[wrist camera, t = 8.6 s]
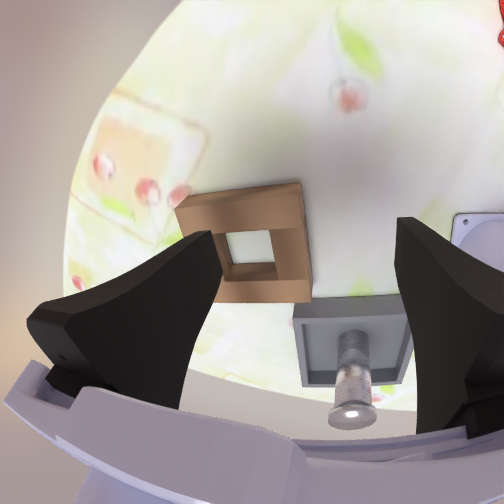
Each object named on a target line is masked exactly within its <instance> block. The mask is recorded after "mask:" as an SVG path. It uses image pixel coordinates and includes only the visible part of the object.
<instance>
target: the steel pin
mask: <svg viewBox="0 0 504 504" xmlns="http://www.w3.org/2000/svg"><path fill="white" fill-rule="evenodd" d="M375 421H376V408H375V407H374V406H373V405H372V396H371V366H370V349H369V337H368V335H367V334H366V333H365V332H363V331H361V330H349V331H346V332H344V333H342V334H341V335H340V336H339V337H338V341H337V370H336V389H335V403H334V408H332V409H331V410H330V412H329V419H328V423H329V424H330V425H331V426H332V427H334V428H337V429H343V430H354V429H361V428H365V427H367V426H370V425H372V424H373V423H374V422H375Z"/></svg>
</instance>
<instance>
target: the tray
mask: <svg viewBox="0 0 504 504" xmlns="http://www.w3.org/2000/svg"><path fill="white" fill-rule="evenodd" d="M292 319H293V326H294V332H295V339H296V346H297V353H298V360H299V367H300V374H301V381H302V387H336V370H337V341H338V337H339V336H340V335H341V334H342V333H344V332H346V331H349V330H361V331H363V332H365V333H366V334H367V335H368V337H369V349H370V366H371V386H379V385H393V384H401V383H402V380H403V378H404V375H405V372H406V369H407V366H408V363H409V360H410V357H411V354H412V351H413V348H414V344H413V339H412V334H411V330H410V326H409V322H408V318H407V315H406V311H405V308H404V304H403V301H402V298H401V294H396V295H380V296H361V297H339V298H311V302H304V303H295V306H294V312H293V318H292Z"/></svg>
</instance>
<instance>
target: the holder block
mask: <svg viewBox="0 0 504 504" xmlns="http://www.w3.org/2000/svg"><path fill="white" fill-rule="evenodd" d="M174 211H175V214H176V217H177V220H178V223H179V226H180V229H181V232H182V235H183V237H184V238H185V237H186V236H188V235H190V234H192V233H194V232H197V231H205V230H211V233H212V236H213V239H214V243H215V246H216V249H217V253H218V256H219V259H220V262H221V266H222V269H223V275H222V279H221V282H220V286H219V289H218V292H217V295H216V297H215V299H214V301H213V303H304V302H311V297H312V286H313V280H312V270H311V260H310V251H309V242H308V234H307V226H306V218H305V210H304V202H303V195H302V188H301V183H290V184H280V185H270V186H261V187H252V188H243V189H235V190H228V191H220V192H213V193H206V194H199V195H192V196H187V197H186V198H185V199H184V200H183V201H182V202H181V203H180V204H179V205H178V206H177V207H176V208H175V209H174ZM256 230H269V232H270V237H271V243H272V248H273V253H274V258H275V262H270V263H246V264H233V262H232V258H231V254H230V251H229V247H228V244H227V240H226V236H225V233H230V232H243V231H256Z"/></svg>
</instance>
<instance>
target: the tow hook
mask: <svg viewBox="0 0 504 504" xmlns="http://www.w3.org/2000/svg"><path fill="white" fill-rule="evenodd" d="M500 5H501V11H502V15H503V18H504V0H500ZM499 41H500V42H501V43H502V44H503V45H504V30H503V31H502V32H501V33H500V35H499Z"/></svg>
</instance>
